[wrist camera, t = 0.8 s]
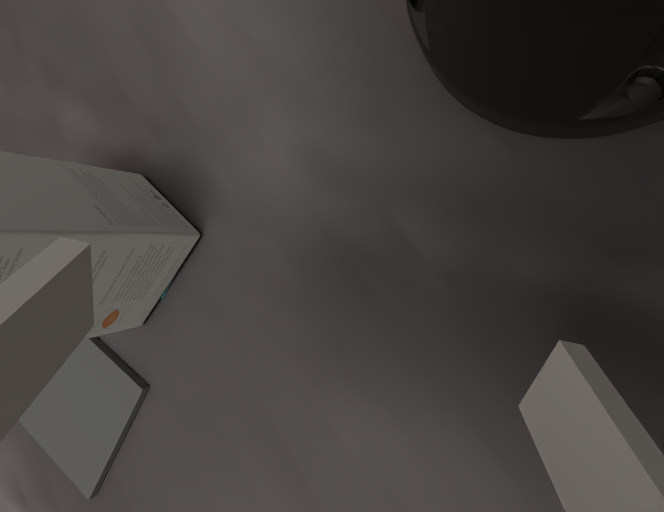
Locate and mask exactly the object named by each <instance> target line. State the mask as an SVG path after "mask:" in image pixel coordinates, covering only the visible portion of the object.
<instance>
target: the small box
mask: <svg viewBox="0 0 664 512" xmlns="http://www.w3.org/2000/svg"><path fill="white" fill-rule="evenodd" d="M60 237H64V238H68V239H73V240H78V241H83V242H88V243H91V259H92V284H93V308H94V326H93V328H92V329H91V330H90V331H89V332H88V334H87V335H86V336H85V337H84V339H88V338H93V337H97V336H101V335H106V334H110V333H114V332H118V331H123V330H127V329H132V328H136V327H140V326H141V325H142V324H143V323H144V321H145V319H146V318H147V316H148V315H149V313H150V312H151V310H152V309H153V307H154V306H155V304H156V303H157V301H158V300H159V298H160V297H161V295H162V294H163V292H164V291H165V289H166V288H167V286H168V285H169V283H170V281H171V280H172V278H173V277H174V275H175V274H176V272H177V271H178V269H179V268H180V266H181V265H182V263H183V261H184V260H185V258H186V257H187V255H188V254H189V252H190V251H191V249H192V248H193V246H194V245H195V243H196V241H197V240H198V239H199V237H200V234H199V232H198V231H197V230H196V229H195V228H194V227H193V226H192V225H191V224H190V223H189V222H188V221H187V220H186V219H185V218H184V217H183V216H182V215H181V214H180V213H179V212H178V211H177V210H176V209H175V208H174V207H173V206H172V205H171V204H170V203H169V202H168V201H167V200H166V199H165V198H164V197H163V196H162V195H161V194H160V193H159V192H158V191H157V190H156V189H155V188H154V187H153V186H152V185H151V184H150V183H149V182H148V181H147V180H146V179H145V178H144V177H143V176H142V175H141V174H136V173H131V172H124V171H118V170H112V169H106V168H100V167H94V166H88V165H83V164H77V163H71V162H65V161H58V160H51V159H45V158H38V157H33V156H26V155H20V154H14V153H8V152H2V151H0V284H1V283H2V282H4V281H5V280H6V279H8V278H9V277H10V276H11V275H13V274H14V273H15V272H16V271H18V270H19V269H20V268H22V267H23V266H24V265H25V264H27V263H28V262H29V261H30V260H32V259H33V258H34V257H36V256H37V255H38V254H39V253H41V252H42V251H43V250H44V249H46V248H47V247H48V246H50V245H51V244H52V243H53V242H55V241H56V240H57V239H58V238H60ZM84 339H83V340H84Z"/></svg>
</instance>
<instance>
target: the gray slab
mask: <svg viewBox="0 0 664 512" xmlns="http://www.w3.org/2000/svg"><path fill="white" fill-rule="evenodd" d="M149 388H150V387H149V386H148V385H147V384H146V383H145V382H144V381H143V380H142V379H141V378H140V377H139V376H138V375H137V374H135V373H134V372H133V371H132V370H131V369H130V368H129V367H128V366H127V365H126V364H125V363H124V362H123V361H122V360H121V359H120V358H118V357H117V356H116V355H115V354H114V353H113V352H112V351H111V350H110V349H109V348H108V347H107V346H106V345H105V344H104V343H103V342H101V341H100V340H99V339H98V338H97V337H93V338H88V339H84V340H82V341H81V342H80V344H79V345H78V346H77V347H76V349H75V350H74V351H73V352H72V354H71V355H70V356H69V357H68V359H67V360H66V361H65V362H64V364H63V365H62V366H61V367H60V369H59V370H58V371H57V372H56V374H55V375H54V376H53V377H52V379H51V380H50V381H49V382H48V384H47V385H46V386H45V387H44V389H43V390H42V391H41V392H40V394H39V395H38V396H37V397H36V399H35V400H34V401H33V402H32V404H31V405H30V406H29V407H28V409H27V410H26V411H25V412H24V414H23V415H22V416H21V417H20V418H19V420H18V421H19V422H20V423H21V424H22V425H23V426H24V428H25V429H26V430H27V431H28V432H29V433H30V434H31V436H32V437H33V438H34V439H35V440H36V441H37V442H38V443H39V445H40V446H41V447H42V448H43V449H44V450H45V451H46V453H47V454H48V455H49V456H50V457H51V458H52V459H53V461H54V462H55V463H56V464H57V465H58V466H59V467H60V468H61V470H62V471H63V472H64V473H65V474H66V475H67V476H68V478H69V479H70V480H71V481H72V482H73V483H74V484H75V485H76V487H77V488H78V489H79V490H80V491H81V492H82V493H83V495H84V496H85V497H86V498H87V499H88V500H90V499H92V498H93V497H95V496H96V495H97V493H98V491H99V489H100V487H101V485H102V483H103V481H104V479H105V477H106V475H107V473H108V471H109V469H110V467H111V465H112V463H113V461H114V459H115V457H116V455H117V452H118V450H119V448H120V446H121V444H122V442H123V440H124V438H125V436H126V434H127V432H128V430H129V428H130V426H131V424H132V422H133V420H134V418H135V416H136V414H137V412H138V410H139V408H140V406H141V404H142V402H143V400H144V398H145V396H146V394H147V392H148V390H149Z"/></svg>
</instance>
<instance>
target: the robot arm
mask: <svg viewBox="0 0 664 512" xmlns="http://www.w3.org/2000/svg"><path fill="white" fill-rule="evenodd" d="M406 4H407V9H408V13H409V18H410V21H411V24H412V27H413V30H414V33H415V35H416V38H417V40H418V42H419V45H420V47H421V49H422V51H423V53H424V55H425V57H426V59H427V61H428V63H429V65H430V67H431V69H432V70H433V72H434V73H435V75H436V76H437V78H438V79H439V80H440V82H441V83H442V84H443V86H444V87H445V88H446V89H447V90H448V91H449V92H450V93H451V94H452V95H453V96H454V97H455V98H456V99H457V100H458V101H459V102H461V103H462V104H463V105H464V106H466V107H467V108H468V109H470V110H471V111H473V112H474V113H476V114H477V115H479V116H481V117H483V118H485V119H486V120H488V121H490V122H493V123H495V124H497V125H499V126H502V127H505V128H508V129H511V130H514V131H518V132H521V133H525V134H530V135H536V136H542V137H551V138H586V137H597V136H604V135H610V134H615V133H620V132H624V131H629V130H632V129H636V128H639V127H643V126H646V125H648V124H651V123H654V122H657V121H660V120H662V119H664V0H406ZM93 326H94V308H93V284H92V259H91V243H88V242H83V241H78V240H73V239H68V238H64V237H60V238H58V239H57V240H56V241H55V242H53V243H52V244H51V245H50V246H48V247H47V248H46V249H44V250H43V251H42V252H41V253H39V254H38V255H37V256H36V257H34V258H33V259H32V260H30V261H29V262H28V263H27V264H25V265H24V266H23V267H22V268H20V269H19V270H18V271H16V272H15V273H14V274H13V275H11V276H10V277H9V278H8V279H6V280H5V281H4V282H2V283H1V284H0V442H1V441H2V440H3V438H4V437H5V436H6V435H7V433H8V432H9V431H10V430H11V428H12V427H13V426H14V425H15V423H16V422H17V421H18V420H19V418H20V417H21V416H22V415H23V414H24V412H25V411H26V410H27V409H28V407H29V406H30V405H31V404H32V402H33V401H34V400H35V399H36V397H37V396H38V395H39V394H40V392H41V391H42V390H43V389H44V387H45V386H46V385H47V384H48V382H49V381H50V380H51V379H52V377H53V376H54V375H55V374H56V372H57V371H58V370H59V369H60V367H61V366H62V365H63V364H64V362H65V361H66V360H67V359H68V357H69V356H70V355H71V354H72V352H73V351H74V350H75V349H76V347H77V346H78V345H79V344H80V342H81V341H82V340H83V339H84V337H85V336H86V335H87V334H88V332H89V331H90V330H91V329H92V328H93ZM518 407H519V409H520V411H521V414H522V416H523V418H524V420H525V423H526V425H527V427H528V429H529V432H530V434H531V436H532V438H533V441H534V443H535V445H536V447H537V450H538V452H539V454H540V456H541V459H542V461H543V463H544V465H545V468H546V470H547V472H548V474H549V477H550V479H551V481H552V483H553V486H554V488H555V490H556V492H557V495H558V497H559V499H560V501H561V504H562V506H563V508H564V510H565V512H664V455H663V453H662V452H661V451H660V449H659V448H658V446H657V445H656V444H655V442H654V441H653V440H652V438H651V437H650V435H649V434H648V433H647V431H646V430H645V429H644V427H643V426H642V424H641V423H640V422H639V420H638V419H637V418H636V416H635V415H634V413H633V412H632V411H631V409H630V408H629V407H628V405H627V404H626V402H625V401H624V400H623V398H622V397H621V395H620V394H619V393H618V391H617V390H616V389H615V387H614V386H613V384H612V383H611V382H610V380H609V379H608V378H607V376H606V375H605V373H604V372H603V371H602V369H601V368H600V367H599V365H598V364H597V362H596V361H595V360H594V358H593V357H592V356H591V354H590V353H589V351H588V350H587V349H586V347H585V346H584V345H581V344H576V343H571V342H566V341H562V340H559V341H558V343H557V345H556V346H555V348H554V349H553V351H552V353H551V354H550V356H549V357H548V359H547V361H546V362H545V364H544V365H543V367H542V369H541V370H540V372H539V373H538V375H537V377H536V378H535V380H534V382H533V383H532V385H531V386H530V388H529V390H528V391H527V393H526V394H525V396H524V398H523V399H522V401H521V402H520V404H519V406H518Z"/></svg>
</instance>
